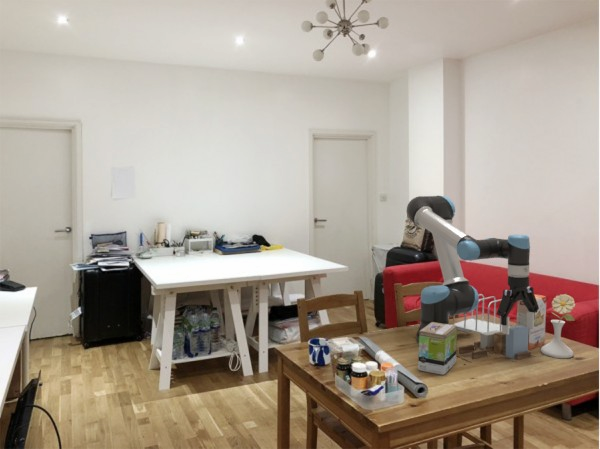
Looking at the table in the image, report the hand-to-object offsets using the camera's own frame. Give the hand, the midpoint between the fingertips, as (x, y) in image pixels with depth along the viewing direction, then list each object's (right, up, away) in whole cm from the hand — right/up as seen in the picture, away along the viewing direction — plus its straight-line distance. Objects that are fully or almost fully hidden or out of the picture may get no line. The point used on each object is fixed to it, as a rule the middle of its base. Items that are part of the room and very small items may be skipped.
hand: (518, 331), depth 191 cm
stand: (-16, -11, +3) cm, 20 cm away
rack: (-3, -10, +6) cm, 13 cm away
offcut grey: (-6, -9, +12) cm, 16 cm away
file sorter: (+2, -8, +39) cm, 40 cm away
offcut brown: (-3, -9, +6) cm, 12 cm away
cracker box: (+11, -10, +14) cm, 21 cm away
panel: (0, -10, +1) cm, 10 cm away
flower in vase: (+17, -11, +3) cm, 20 cm away
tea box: (-33, -12, -7) cm, 35 cm away
